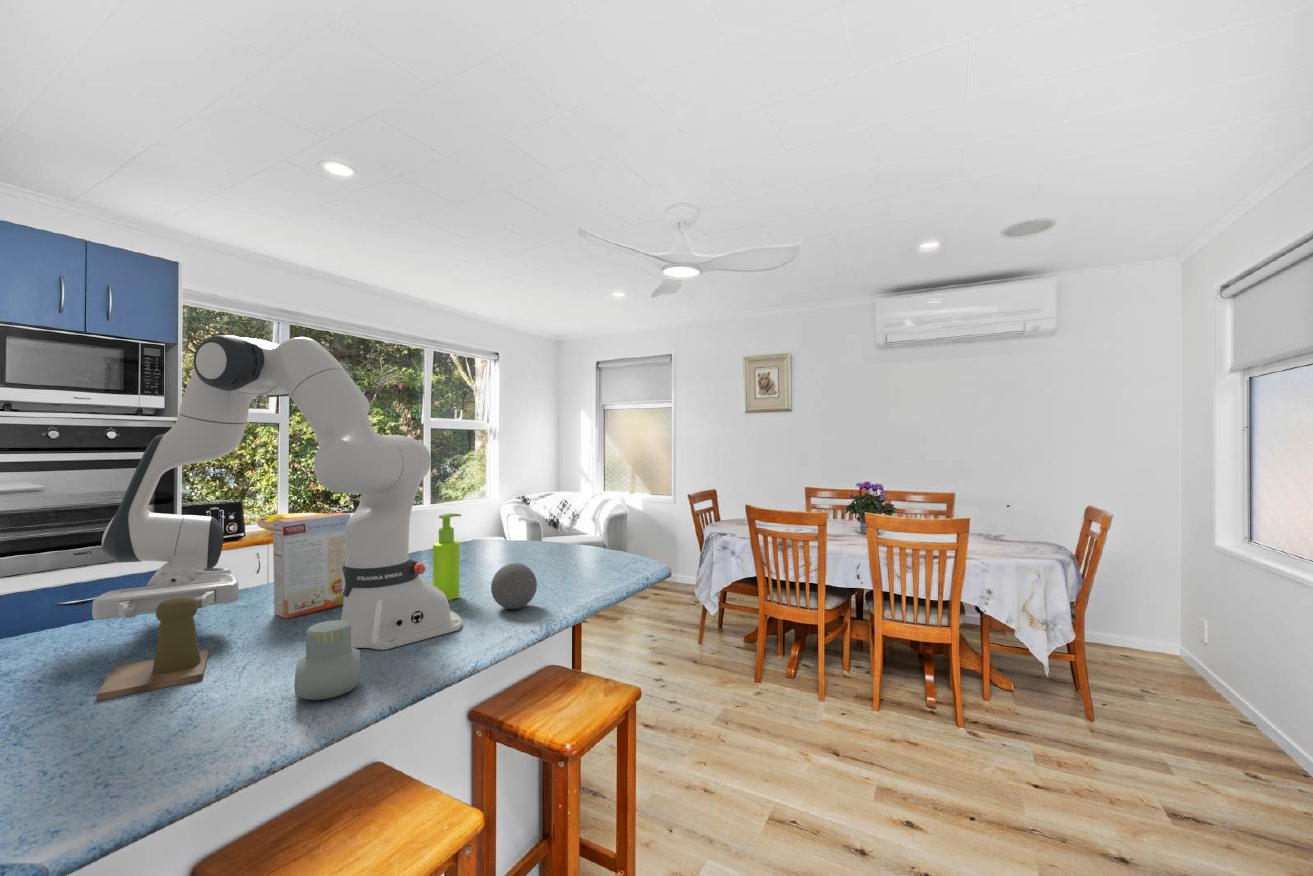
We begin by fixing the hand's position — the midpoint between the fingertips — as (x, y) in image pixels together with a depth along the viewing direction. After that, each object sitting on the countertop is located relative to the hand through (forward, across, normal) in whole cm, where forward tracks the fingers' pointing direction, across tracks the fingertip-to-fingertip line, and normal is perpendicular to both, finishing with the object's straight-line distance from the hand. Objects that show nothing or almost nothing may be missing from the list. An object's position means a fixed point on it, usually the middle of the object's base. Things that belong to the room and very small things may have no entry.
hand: (165, 608), depth 97 cm
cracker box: (-16, +23, +9) cm, 30 cm away
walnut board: (+9, 0, +9) cm, 13 cm away
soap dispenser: (-8, +50, +9) cm, 52 cm away
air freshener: (+32, +22, +9) cm, 39 cm away
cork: (+9, +2, +8) cm, 12 cm away
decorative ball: (+8, +60, +9) cm, 61 cm away
